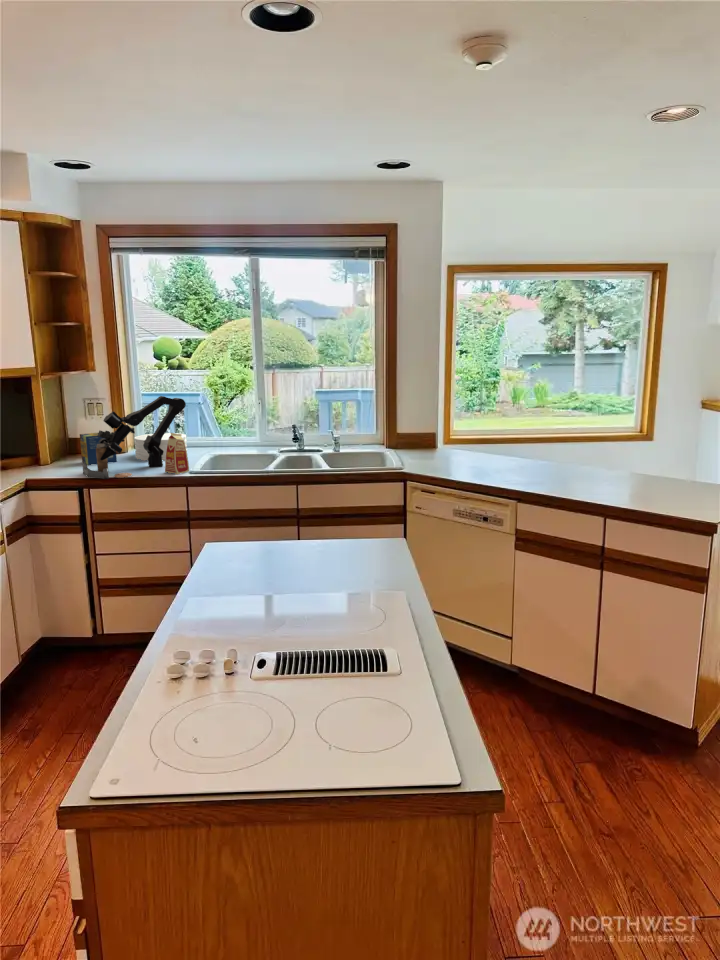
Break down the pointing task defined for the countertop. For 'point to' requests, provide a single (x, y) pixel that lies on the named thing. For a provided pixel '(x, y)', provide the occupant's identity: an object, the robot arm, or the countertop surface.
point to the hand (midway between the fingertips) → (99, 459)
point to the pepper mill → (99, 452)
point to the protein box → (91, 448)
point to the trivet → (122, 475)
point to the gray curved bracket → (95, 472)
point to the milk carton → (176, 455)
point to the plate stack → (144, 455)
